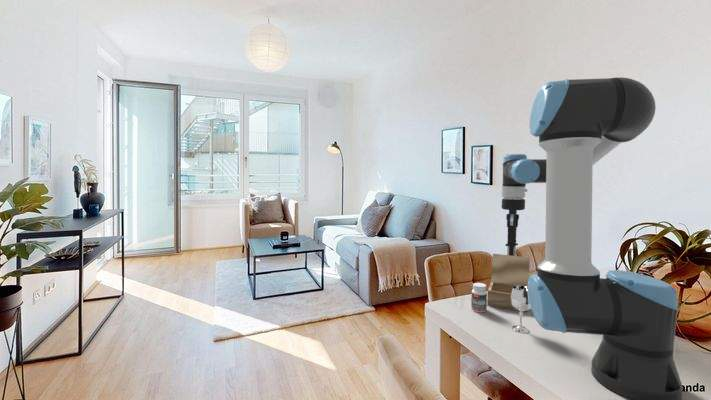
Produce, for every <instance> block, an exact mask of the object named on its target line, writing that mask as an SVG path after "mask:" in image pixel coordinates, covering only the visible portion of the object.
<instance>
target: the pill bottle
mask: <svg viewBox="0 0 711 400" xmlns="http://www.w3.org/2000/svg"><path fill="white" fill-rule="evenodd" d="M472 288H473V289H472V290H471V298H470V299H471V300H470V301H471V303H470V309H471V310H472V312H475V313H481V314H482V312H483V313H486V312H487V311H488V310H487V307H488V305H487V298H488V290H487V284H485V283H484V282H483V283H482V282H474V283H473V284H472Z"/></svg>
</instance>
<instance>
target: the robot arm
mask: <svg viewBox="0 0 711 400" xmlns="http://www.w3.org/2000/svg"><path fill="white" fill-rule="evenodd" d="M652 93H653V92H651V91H650V89H649V88H648V87H647V86H646V85H645V84H643V83H642V82H640V81H638V80H635V79H633V78H629V77H624V76H623V77H611V78H605V77H603V78H583V79H582V78H580V79H577V78H576V79H568V78H566V79H564V80H555V81H548V82H546V83H544V84H542V86H541V87H540V89H539V90H538V91H537V93H536V95H535V97H534V100H533V102H532V103H533V104H532V107H531V111H530V117H529V132H530V134H531V136H533V137H535V138H537V137H538V146H539V147H540V148H541V149H543V150H544V151H545V153H546V159H539V158H537V159H535V158H534V159H532V158H531V159H530V158H528V157H527V155H526V154H524V153H523V154H522V153H518V154H517V153H516V154H515V153H511V154H505V155H504V156H503V161H502V186H501V197H502V199H501V209H502V210H506V211H508V213H507V214H506V215H505V216H506V218H505V219H506V227H507V243H506V244H505V247H507V250H506V251H507V252H506V253H507V254H506V255H511V256H517V255H516V253H517V252H516V251H517V250H516V249H517V246H519V243H517V228H518V227H519V226H518V225H519V219H520V214H519V213H518V212H517V211H524V210H525V209H526V200H525V199H524V198H525V197H526V193H528V189H527V188H526V185H527V184H545V240H544V241H545V244H544V245H545V248H544V250H545V251H544V252H545V255H544V260H543V261H541V262H540V263H539V264H537V273H536V274H531V275H529V279H528V296H529V301H530V306H531V309H530V310H531V313H532V315H533V316H534V317H533V318H534V319H535V321H536V322H537V324H538V325H539V326H540V327H541V328H542V329H544V330H546V331H552V332H553V331H554V332H561V334H566V333H570V334H571V333H572V334H585V335H599V336H600V335H601V336H602V340H601V341H600V344H599V346H598V347H597V350H596V351H595V353H594V354H593V357H592V359H591V365H590V366H591V368H590V372H591V374H592V377H593V378H594V379H595V380H596V381H597V382H599V384H601V385H602V386H604V387H605V388H606V389H608V390H610V391H612V392H613V393H616V394H618V395H620V396H623V397H625V398H628V399H630V400H633V399H634V400H682V397H683V396H682V395H683V384H682V380H681V377H680V374H679V371H678V369H677V365H676V362H675V359H674V350H675V349H674V347H675V338H676V337H675V336H676V326H677V315H678V311H679V303H678V302H679V300H678V297H679V296H678V292H677V290H676V288H675V287H674V286H672V285H671V284H669V283H668V282H666V281H663V280H661V279H659V278H655V277H652V276H649V275H645V274H641V273H636V272H632V271H627V270H622V269H621V270H620V269H612V270H611V269H610V270H608V271H607V272H606V274H605V278H601V272H600V270H599V269H598V268H597V267H596V266H595V265H594V264H593V263H592V250H593V249H592V242H593V239H592V238H593V237H592V236H593V235H592V233H593V166H594V165H595V164H596V163H597V162H599V161H601V160H602V158H604V157H605V156H606V155H608V154H609V153H611V151H613V150H614V149H615V148H617V147H618V146H619V145H620V144H623V143H628V142H631V141H633V140H634V139H636V138H637V137H639V136H640V135H642V133H643V132H645V131H646V130H647V128H648V127H650V125H651V123H652V122H653V120H654V117H655V114H656V109H657V108H656V101H655V98H654V95H653V94H652Z"/></svg>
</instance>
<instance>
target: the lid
mask: <svg viewBox="0 0 711 400" xmlns="http://www.w3.org/2000/svg"><path fill="white" fill-rule="evenodd" d="M491 260H492V262H491V278H490V280H491V281H490V283H491V282H496V283H504V284H511V285H518V286H526V287H528V279H529V277H530V263H531V259H530V257H529V256H520V255H516V256H511V255H507V254H499V253H492V258H491Z"/></svg>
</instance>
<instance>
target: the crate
mask: <svg viewBox="0 0 711 400" xmlns="http://www.w3.org/2000/svg"><path fill="white" fill-rule="evenodd" d="M514 286H518V285H511V284H504V283H496V282H491V281H490V284H489V286H488V290H487V306H488V305H489V307H494V308H501V309H506V310H507V309H508V310H512V311H513V310H514V311H519V312H520V310H517V309H515V308H514V307H513V306H512V304H511V300H510V299H511V292H512V289H513V287H514ZM524 312H525V313H528V310H527V311H524Z"/></svg>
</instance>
